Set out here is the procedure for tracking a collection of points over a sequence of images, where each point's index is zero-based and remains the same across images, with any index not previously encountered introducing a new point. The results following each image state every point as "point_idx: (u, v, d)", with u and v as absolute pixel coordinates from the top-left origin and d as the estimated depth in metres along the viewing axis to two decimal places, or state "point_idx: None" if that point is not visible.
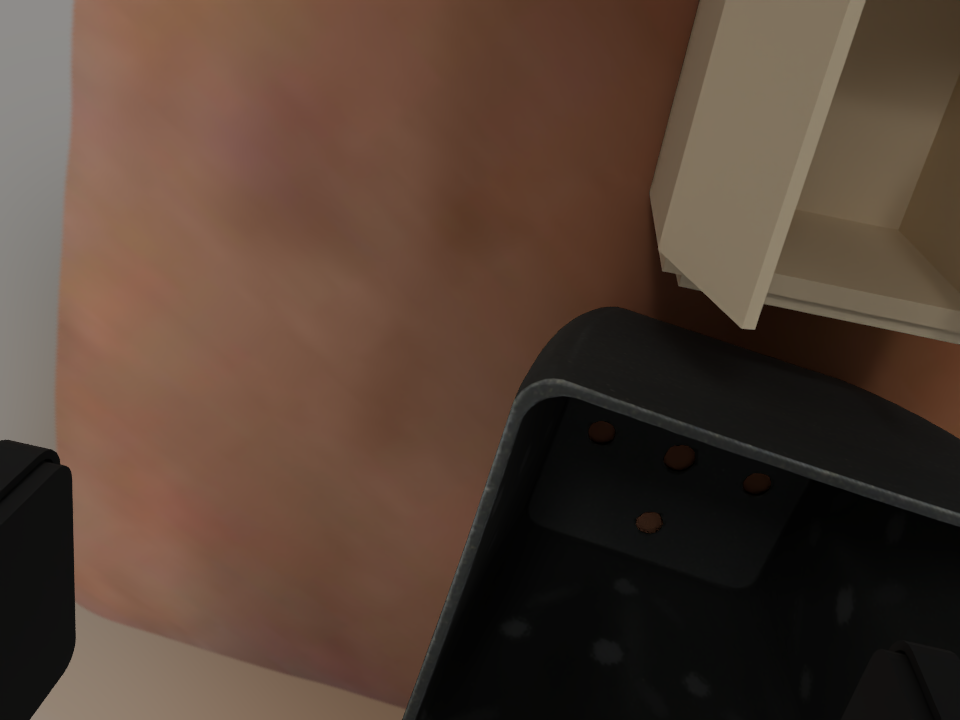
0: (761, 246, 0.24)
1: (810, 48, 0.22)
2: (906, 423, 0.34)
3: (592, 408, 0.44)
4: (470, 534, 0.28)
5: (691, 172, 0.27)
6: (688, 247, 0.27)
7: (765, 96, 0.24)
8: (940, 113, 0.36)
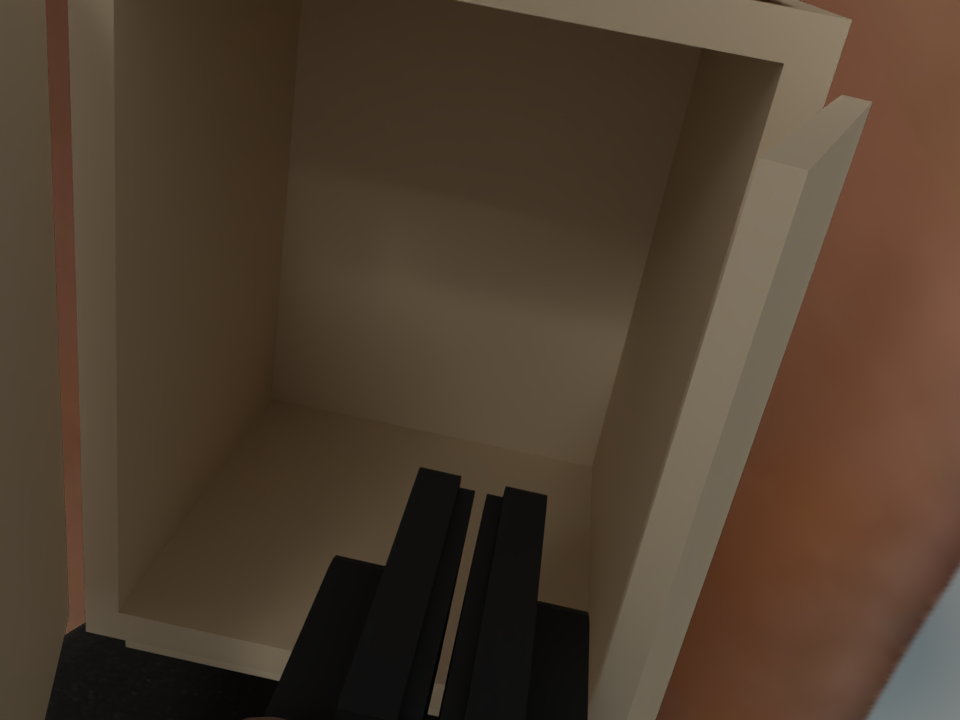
0: None
1: None
2: None
3: None
4: None
5: None
6: None
7: None
8: (626, 315, 0.24)
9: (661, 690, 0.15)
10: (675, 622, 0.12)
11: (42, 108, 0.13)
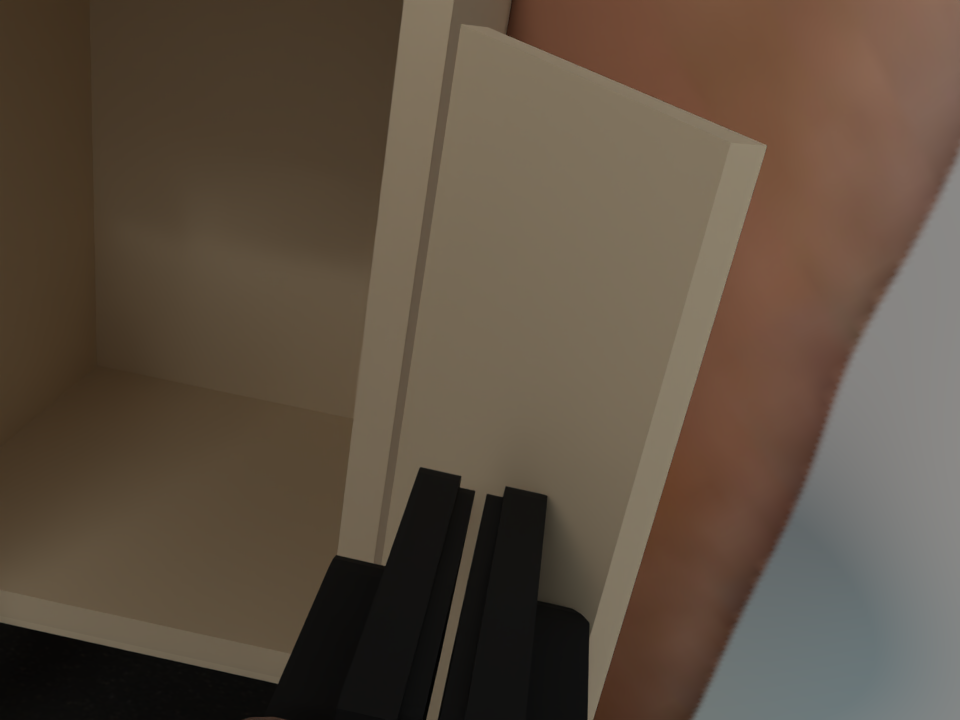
0: None
1: None
2: None
3: None
4: None
5: None
6: None
7: None
8: None
9: None
10: None
11: None
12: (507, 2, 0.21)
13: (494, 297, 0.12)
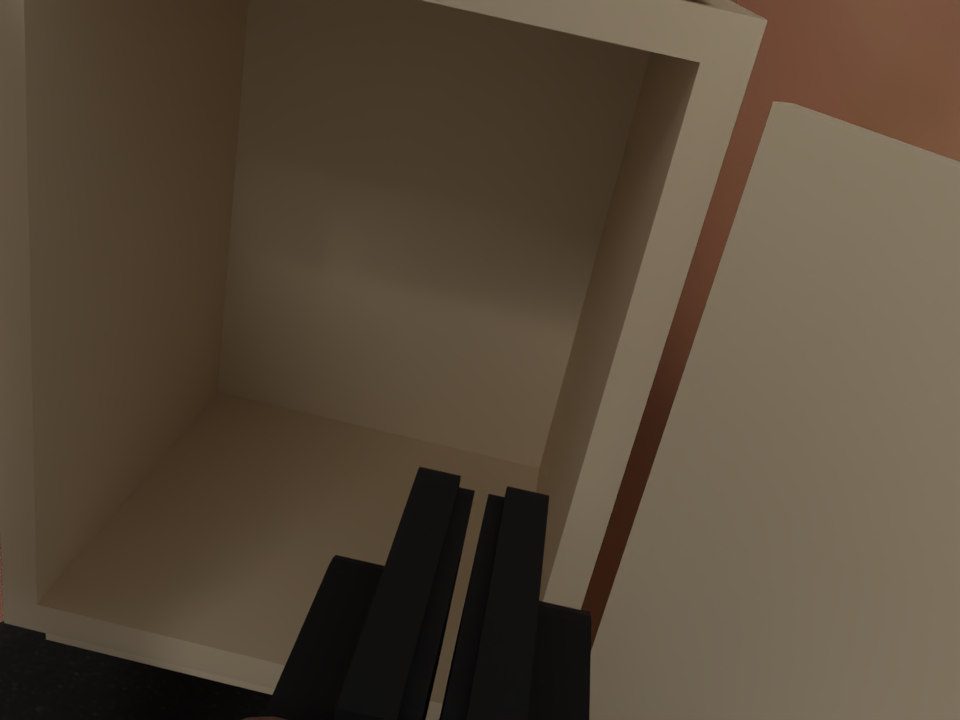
0: None
1: None
2: None
3: None
4: None
5: None
6: None
7: None
8: (574, 316, 0.24)
9: None
10: None
11: None
12: None
13: (828, 387, 0.12)
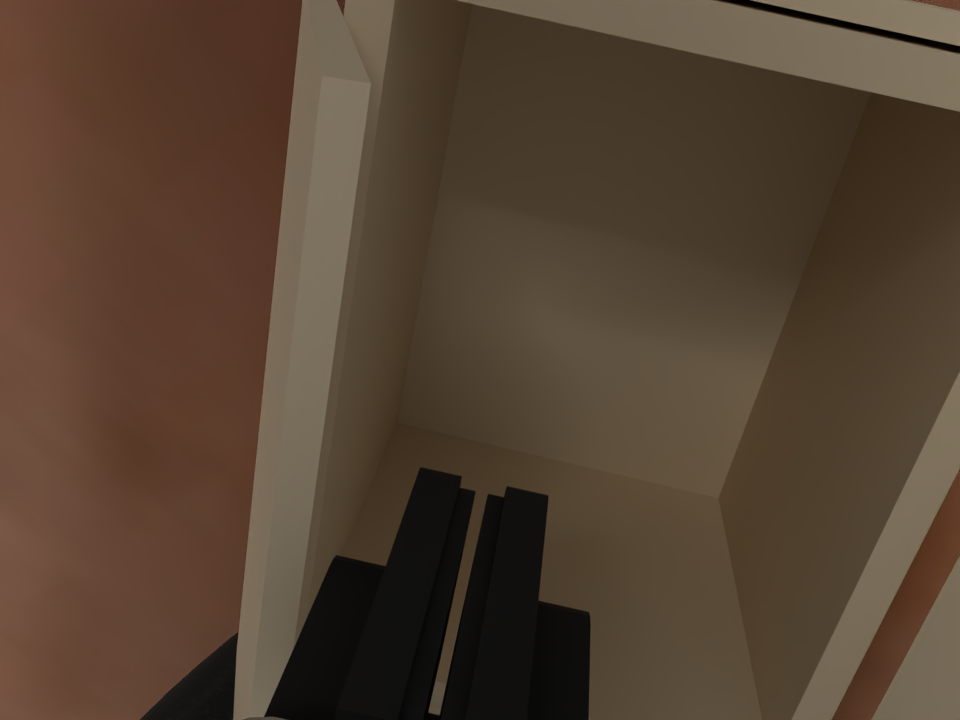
0: None
1: (266, 513, 0.10)
2: None
3: None
4: None
5: (246, 567, 0.16)
6: (236, 698, 0.16)
7: (257, 540, 0.12)
8: (768, 350, 0.24)
9: None
10: None
11: None
12: None
13: None
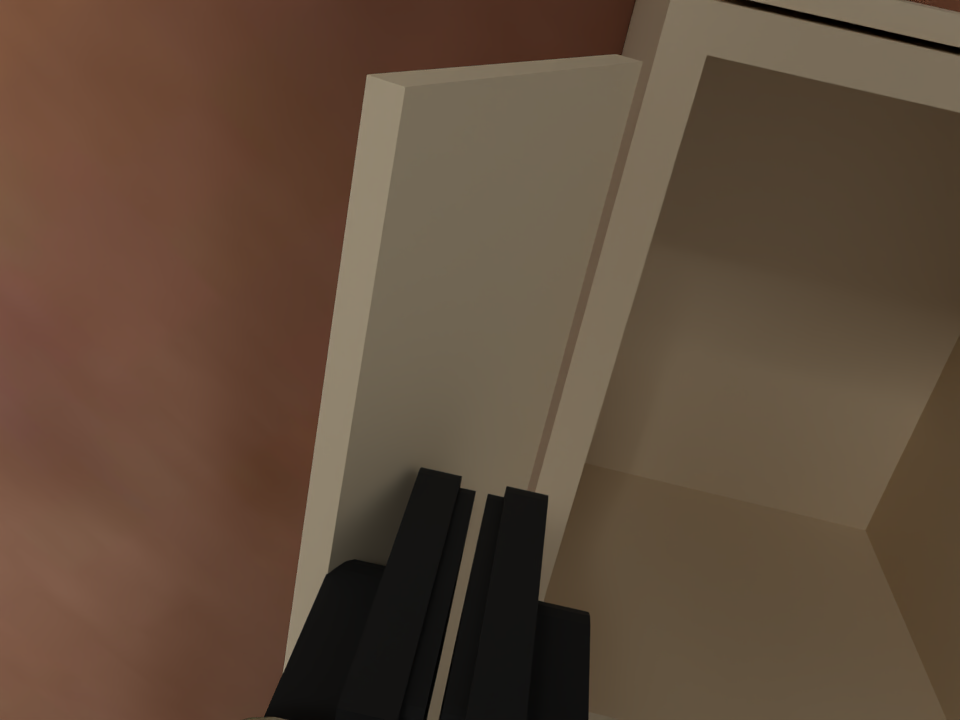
0: None
1: None
2: None
3: None
4: None
5: None
6: None
7: None
8: (929, 386, 0.25)
9: None
10: None
11: (586, 220, 0.13)
12: None
13: None
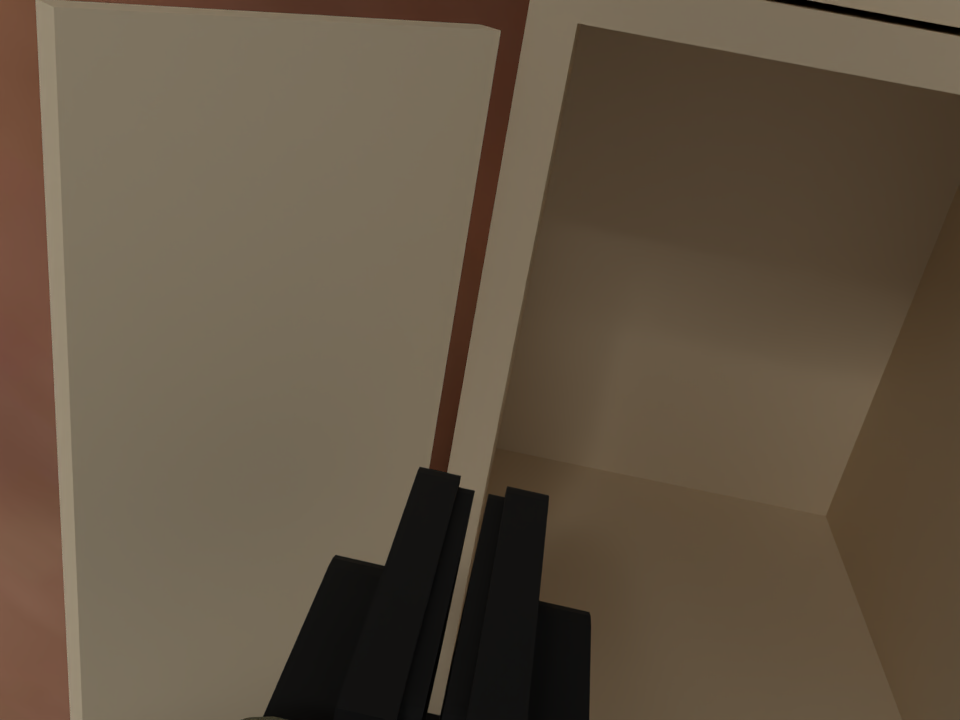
0: None
1: None
2: None
3: None
4: None
5: None
6: None
7: None
8: (880, 366, 0.24)
9: None
10: None
11: (445, 193, 0.13)
12: None
13: None
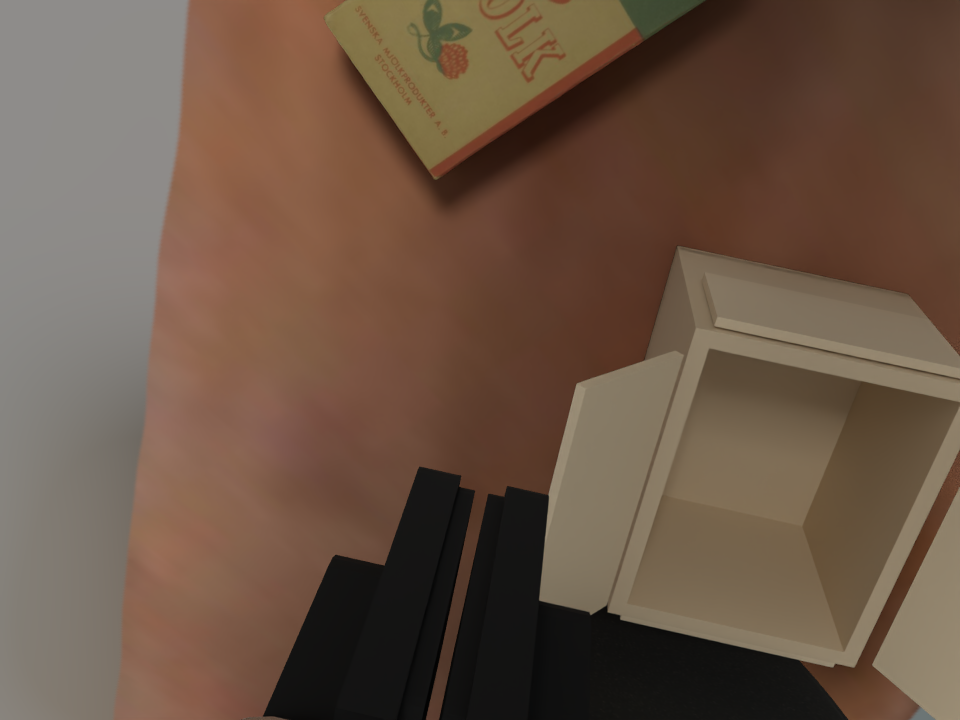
0: None
1: None
2: (799, 702, 0.44)
3: None
4: None
5: None
6: None
7: None
8: (831, 448, 0.46)
9: None
10: None
11: (659, 408, 0.35)
12: None
13: None
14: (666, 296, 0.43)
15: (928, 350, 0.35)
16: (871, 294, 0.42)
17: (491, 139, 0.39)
